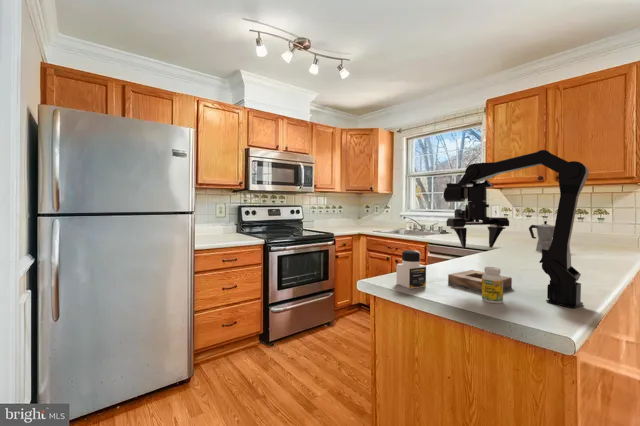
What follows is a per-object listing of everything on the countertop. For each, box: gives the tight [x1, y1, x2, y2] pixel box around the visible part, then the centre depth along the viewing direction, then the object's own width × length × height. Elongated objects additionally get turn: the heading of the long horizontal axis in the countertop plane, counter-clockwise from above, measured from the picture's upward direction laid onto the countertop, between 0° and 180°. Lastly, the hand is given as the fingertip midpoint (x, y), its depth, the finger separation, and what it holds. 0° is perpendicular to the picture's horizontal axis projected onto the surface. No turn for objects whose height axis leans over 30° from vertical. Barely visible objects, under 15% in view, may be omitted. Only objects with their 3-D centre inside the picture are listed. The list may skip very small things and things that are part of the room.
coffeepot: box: [528, 220, 555, 253], centre depth 181 cm, size 15×9×18 cm, turn 79°
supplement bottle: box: [481, 266, 504, 304], centre depth 87 cm, size 5×5×10 cm
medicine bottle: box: [396, 249, 427, 290], centre depth 104 cm, size 7×7×12 cm
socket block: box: [447, 269, 513, 294], centre depth 103 cm, size 14×14×4 cm
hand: (477, 247), depth 102 cm, fingers open, 9 cm apart
